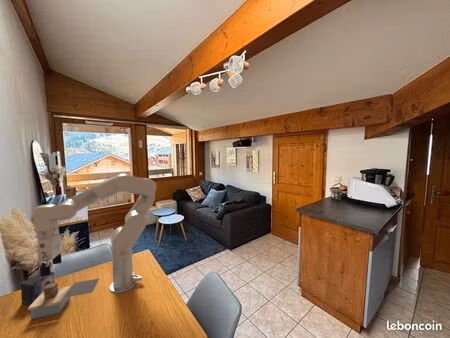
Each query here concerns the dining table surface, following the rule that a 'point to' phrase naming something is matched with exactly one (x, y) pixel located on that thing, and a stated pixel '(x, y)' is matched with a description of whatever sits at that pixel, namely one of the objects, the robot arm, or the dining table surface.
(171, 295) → the dining table surface
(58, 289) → the lid
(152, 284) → the dining table surface
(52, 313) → the open box
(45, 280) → the small box
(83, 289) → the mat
